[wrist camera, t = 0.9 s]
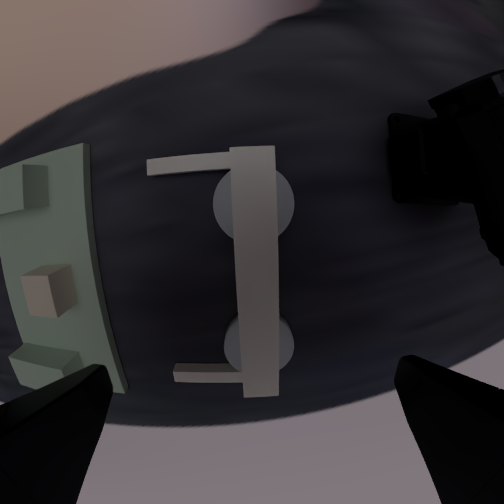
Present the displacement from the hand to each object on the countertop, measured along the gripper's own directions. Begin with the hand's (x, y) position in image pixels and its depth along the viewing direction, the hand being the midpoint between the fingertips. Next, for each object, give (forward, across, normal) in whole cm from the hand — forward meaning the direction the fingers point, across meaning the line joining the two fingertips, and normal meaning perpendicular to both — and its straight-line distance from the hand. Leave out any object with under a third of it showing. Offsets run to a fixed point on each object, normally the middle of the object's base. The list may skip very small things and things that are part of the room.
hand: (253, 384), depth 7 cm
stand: (+12, +17, +1) cm, 20 cm away
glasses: (+12, +2, +1) cm, 12 cm away
